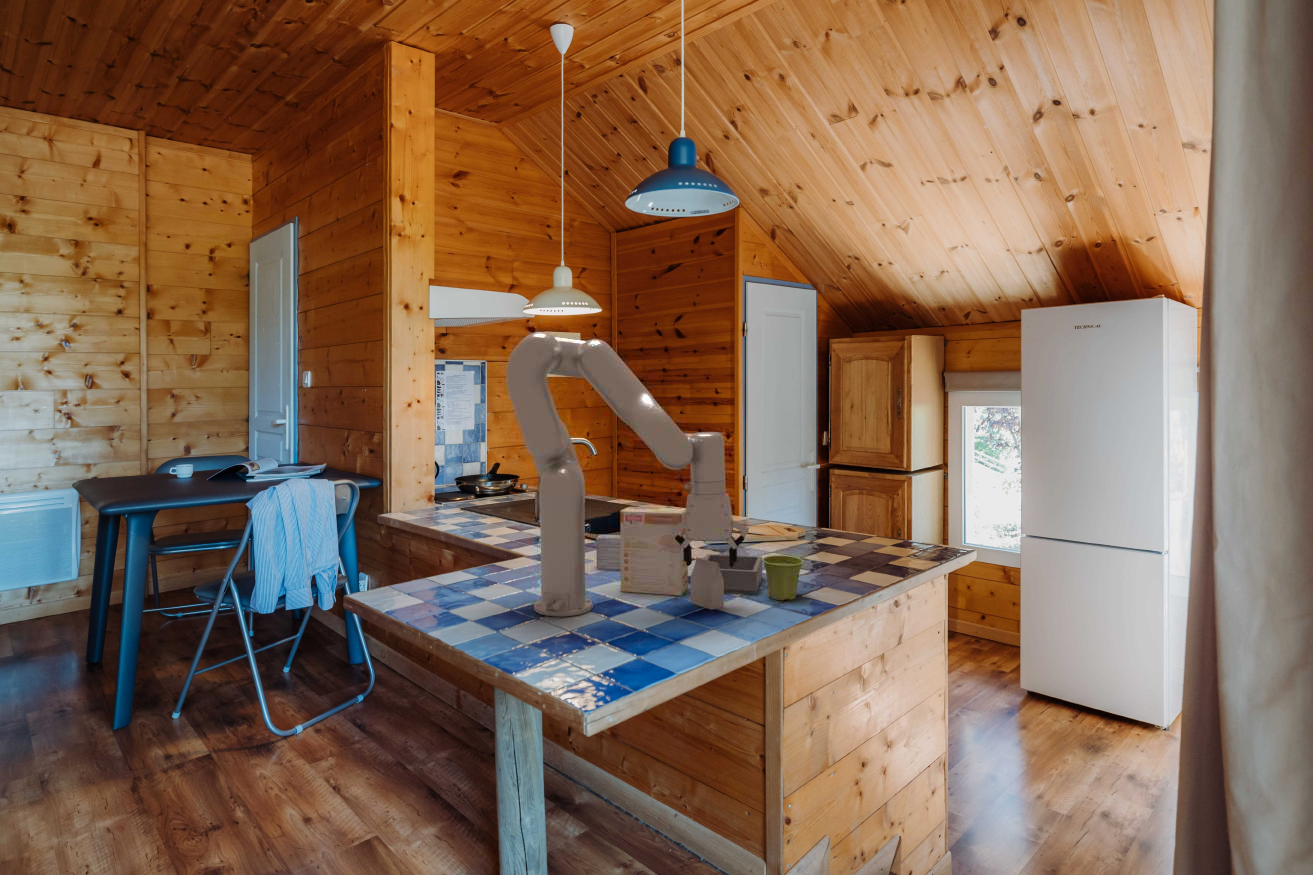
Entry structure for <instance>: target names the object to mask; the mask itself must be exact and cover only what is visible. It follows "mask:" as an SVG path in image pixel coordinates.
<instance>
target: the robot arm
mask: <svg viewBox="0 0 1313 875" xmlns="http://www.w3.org/2000/svg"><path fill="white" fill-rule="evenodd" d="M548 375H555V376H562V377H570V378H581V379H586V381H587V382H588V383H589V384H590V386H592V387H593V389H594V390H595V391H596V393H598V395H599V396H600V397H601V398H602V399H603V400H604V401H605V403H606V404H607V405H608V406H609V407H610V409H611V410H612V411H613V412H614V414H616V416H618V418H620V420H621V421H623V422H624V423H625V424H626V425H627V426H629V427H630V429H632V430H633V431H634V433H636V435H637V436H638V437H639V438H640V439H641V440H642V441H643V443H644V444H645V445H646V446H647V447H648V448H649V449H650V450H651V452H652V453H653V454H654V455H655V458H656V460H658V461H659V462H660V463H661V464H662V465H663V466H664V467H666V468H667V469H670V470H676V471H677V470H682V469H684V468H686V467H687V466H688V465H690V481H689V482H687V483H684V490H689V492H690V494H688V495H687V497H686V506H685V509H686V520H684V521H682V522H680V523H679V524H677V525H675V526H673V527H672V528H671V532H672V534H673V535H674V537H675V540H676V541H677V542H678V543H679V544H680V545H681V546H682V548H683V554H684V561H686V566H688V567H689V566H690V565H691V564H692V562H693V561H692V560H693V557H692V546H691V542H692V541H694V542H695V541H696V542H726V543H727V544H728V545H729V546H730V548H729V552H728V555H729V562H730V566H731V567H733V566H734V562H737V555H738V547H739V546H740V545H741V544H742V543H743V542H744V540H745V539H746V536H747V534H748V532H749V531H750V527H748V526H746V525H744V524H743V523H740V522H739V521H736V520H734V519H733V513H732V512H733V511H732V505H731V504H732V503H731V500H730V495H729V493H726V464H725V460H726V459H725V438H724V436H723V434H722V433H721V432H717V431H703V432H701V431H700V432H695V433H685V432H683V431H682V429H680V427H679V426H678V425H677V424H676V423H675V422H674V421H673V419H672V418H671V417H670V416H669V415H668V413H667V412H666V411H665V410H664V409H663V408H662V406H660V404H659V403H658V402H657V401H656V399H655V398H654V396H653V394H652V393H651V392H650V391H649V390H648V389H647V388H646V386H645V385H644V383H642V382H641V381H640V380H639V379H638V377H637V376H636V375H635V373H633V371H632V369H630V368H629V366H627V364H626V363H625V362H624V361H623V359H622V358H621V357H620V356H619V355H618V354H617V352H616V351H615V350H614V349H613V348H612V346H610V344H608V343H607V342H606V341H604V340H602V339H597V338H592V339H589V340H580V339H579V340H578V339H570V338H565V337H557V336H553V335H552V334H550V333H548V332H546V331H545V332H543V331H535V332H532V333H529V334H528V335H526V336H525V337H524V338H522V339H521V341H519V343H517V345H516V346H515V348H514V349H513V350H512V352H511V354H510V355H509V358H508V361H507V365H506V370H505V381H506V382H505V383H506V388H507V392H508V395H509V398H510V401H511V405H512V408H513V411H514V414H515V417H516V420H517V423H518V426H519V429H520V431H521V434H522V438H523V443H524V446H525V449H526V450H527V452H528V453H529V454H530V456H532V459H533V463H534V465H535V467H536V470H537V473H538V476H539V478H540V481H539V487H538V488H539V490H538V495H539V496H538V499H539V501H538V502H539V516H540V517H539V521H540V523H539V525H540V526H539V528H540V529H539V530H540V532H539V533H540V537H539V538H540V582H541V584H540V586H541V588H540V590H541V591H540V593H541V595H540V597H541V598H540V599H539V600H537V601H535V603H534V604H533V605H534V607H533V609H534V611H535V612H536V613H538V614H539V615H543V616H548V617H573V616H579V615H583V614H586V613H588V612H590V611H591V610H592V609H593V606H594V605H593V601H592V600H591V599H589V598H588V597H586V537H585V536H586V535H585V534H586V533H585V532H586V531H585V530H586V527H585V524H586V523H585V522H586V520H585V517H586V516H585V514H586V512H585V510H586V509H585V508H586V507H585V503H586V502H585V501H586V487H585V486H586V485H585V482H586V481H585V477H584V476H585V475H584V472H583V470H582V467H581V465H580V462H579V459H578V456H577V452H576V449H575V447H574V444H573V442H572V440H571V436H570V433H569V431H568V427H567V426H566V425H565V423H564V422H563V420H561V419H560V416H559V414H558V411H557V409H556V408H557V407H556V406H555V403H554V399H553V396H552V393H551V391H550V387H549V384H548ZM683 527H685V534H686V540H685V539H684V538H683V537H682V536H681V535H680V533H679V530H680V529H682V528H683ZM734 529H736V530H738V531H740V535H739V536H738V537H737V538H735V537H734V536H733V533H734Z"/></svg>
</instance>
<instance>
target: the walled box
mask: <svg viewBox="0 0 1313 875" xmlns="http://www.w3.org/2000/svg"><path fill="white" fill-rule="evenodd" d="M703 559H705V560H709V561H713V562H717V563H719V567H720V571H721V574H722V577H723V579H724V594H730V595H731V594H732V595H734V594H736V595H746V596H747V595H748V596H751V595H752V596H757V593H758V591H759V588H760V585H761V582H762V580H763V561H762V559H763V556H759V555H758V556H757V555H755V556H754V555H738V554H737V562H734V566H733V567H731V566H730V562H729V554H717V553H716V554H714V553H706V555H705V557H704V558H703Z"/></svg>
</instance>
